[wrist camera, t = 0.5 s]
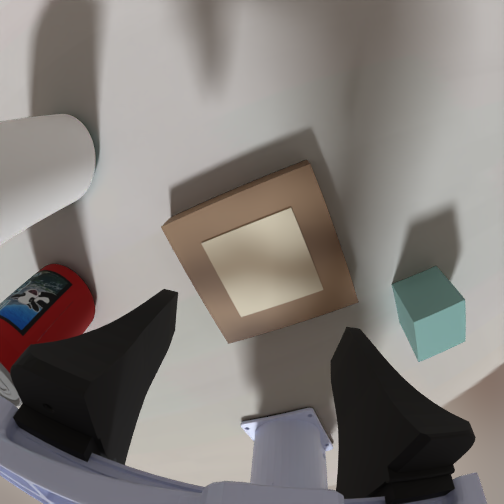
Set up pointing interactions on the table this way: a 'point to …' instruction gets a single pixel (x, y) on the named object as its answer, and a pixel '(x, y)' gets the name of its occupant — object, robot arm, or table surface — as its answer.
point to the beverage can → (41, 317)
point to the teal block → (430, 312)
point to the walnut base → (264, 254)
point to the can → (41, 169)
